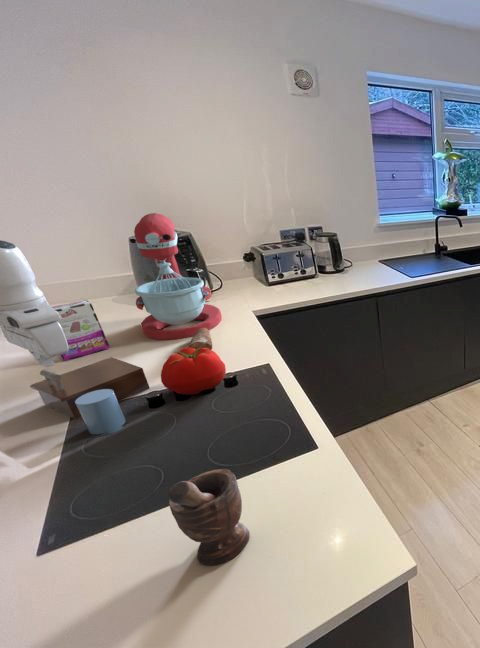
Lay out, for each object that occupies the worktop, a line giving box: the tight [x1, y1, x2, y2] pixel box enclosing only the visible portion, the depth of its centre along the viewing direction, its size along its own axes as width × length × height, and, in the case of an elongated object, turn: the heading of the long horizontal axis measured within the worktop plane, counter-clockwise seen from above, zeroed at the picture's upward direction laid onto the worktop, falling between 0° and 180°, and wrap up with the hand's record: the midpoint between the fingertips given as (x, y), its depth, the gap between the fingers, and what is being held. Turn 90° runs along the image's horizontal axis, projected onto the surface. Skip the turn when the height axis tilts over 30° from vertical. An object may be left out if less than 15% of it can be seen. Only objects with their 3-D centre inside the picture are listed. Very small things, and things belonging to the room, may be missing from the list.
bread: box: [187, 328, 213, 351], centre depth 134 cm, size 6×19×6 cm, turn 32°
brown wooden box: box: [37, 370, 151, 420], centre depth 105 cm, size 16×15×6 cm
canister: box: [75, 389, 127, 438], centre depth 94 cm, size 6×6×9 cm
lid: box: [29, 356, 144, 402], centre depth 102 cm, size 16×15×5 cm
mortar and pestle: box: [167, 468, 251, 566], centre depth 63 cm, size 12×9×20 cm
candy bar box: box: [51, 299, 111, 362], centre depth 126 cm, size 11×5×16 cm, turn 147°
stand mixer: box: [129, 212, 223, 341], centre depth 144 cm, size 24×32×40 cm
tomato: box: [160, 346, 227, 396], centre depth 110 cm, size 13×14×12 cm
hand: (46, 364), depth 96 cm, fingers closed
